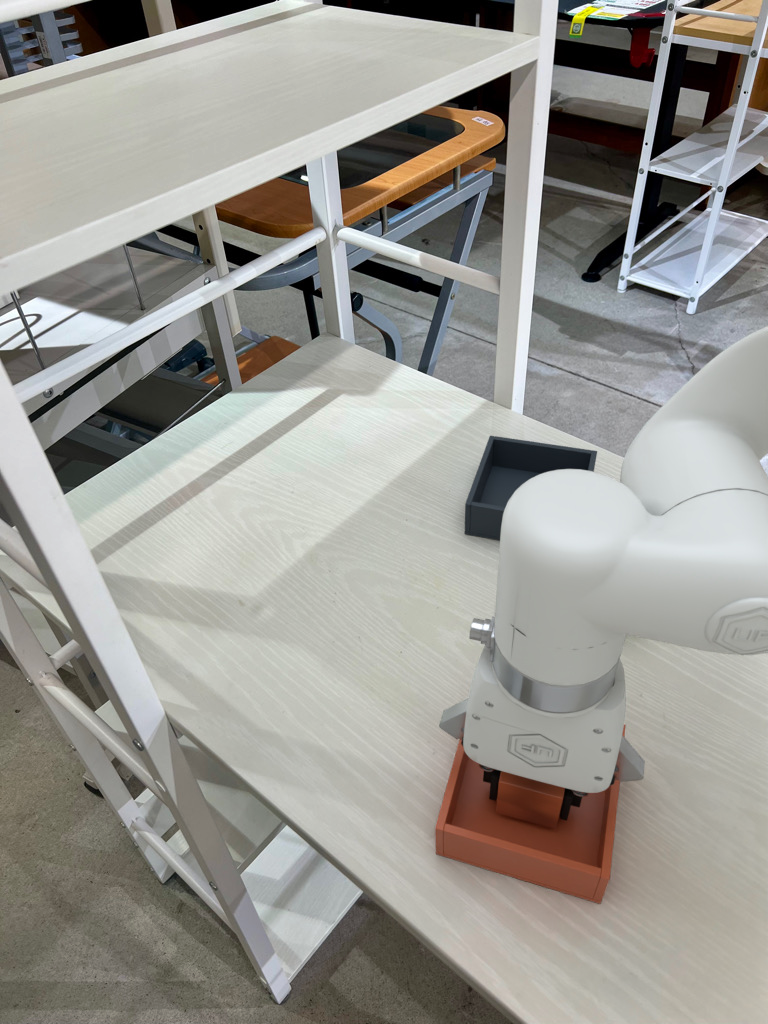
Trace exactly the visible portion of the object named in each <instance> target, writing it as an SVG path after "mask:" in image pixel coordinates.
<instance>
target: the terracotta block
mask: <svg viewBox="0 0 768 1024" xmlns="http://www.w3.org/2000/svg"><path fill="white" fill-rule="evenodd" d="M564 790H565V788H563V787H559V786H556V785H552V784H548V783H544V782H540V781H536V780H533V779H529V778H525V777H522V776H518V775H514V774H511V773H507V772H503V771H501V774H500V778H499V785H498V795H497V805H496V813H499V814H503V815H507V816H510V817H514V818H517V819H521V820H524V821H528V822H531V823H535V824H538V825H542V826H545V827H549V828H553V829H556V828H557V823H558V819H559V815H560V810H561V806H562V802H563V797H564Z"/></svg>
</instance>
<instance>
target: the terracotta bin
mask: <svg viewBox="0 0 768 1024" xmlns="http://www.w3.org/2000/svg"><path fill="white" fill-rule="evenodd" d="M626 727H627V725H626V724H624V728H623V733H622V735H623V736H624V737H625V735H626ZM625 738H626V737H625ZM461 742H462V741H461V740H460V739H458V743H457V748H456V751H455V754H454V757H453V762H452V765H451V769H450V771H449V776H448V780H447V784H446V786H445V791H444V794H443V798H442V802H441V806H440V809H439V813H438V816H437V820H436V824H435V827H434V836H435V854H436V856H437V855H438V856H441V857H444V858H448V859H451V860H454V861H457V862H461V863H464V864H467V865H470V866H474V867H477V868H480V869H484V870H487V871H490V872H493V873H497V874H500V875H504V876H507V877H509V878H514V879H516V880H519V881H522V882H523V881H524V882H527V883H530V884H534V885H537V886H540V887H544V888H547V889H550V890H553V891H557V892H560V893H563V894H567V895H570V896H572V897H576V898H579V899H583V900H586V901H589V902H592V903H597V904H598V905H599V904H602V901H603V898H604V895H605V893H606V890H607V888H608V885H609V882H610V881H611V880H610V879H611V871H612V861H613V853H614V852H613V851H614V843H615V842H614V841H615V834H616V823H617V814H618V806H619V805H618V802H619V795H620V785H621V782H619V780H615V781H614V784H613V785H610V786H609V787H608V788H607V789H606V790H604V791H602V792H598V793H589V794H588V796H586V797H582V800H581V804H580V807H575V806H572V805H571V807H570V811H569V815H568V819H567V821H566V820H562V819H560V817H559V819H558V823H557V828H556V829H553V828H549V827H545V826H542V825H538V824H535V823H531V822H528V821H524V820H521V819H517V818H514V817H510V816H507V815H503V814H499V813H496V805H497V799H496V801H494V800H491V799H489V795H490V784H491V783H487V782H484V781H483V774H484V770H482V769H481V768H480V767H479V763H477V762H475V761H473V760H472V759H471V758H469V757H468V755H467V754H466V753H465V751H464V747H463V746H462V744H461Z"/></svg>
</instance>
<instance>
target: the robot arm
mask: <svg viewBox="0 0 768 1024" xmlns="http://www.w3.org/2000/svg"><path fill="white" fill-rule="evenodd" d="M766 455H768V325H767V326H765V327H762V328H760V329H757V330H756V331H753V332H751V333H750V334H747V335H746V336H744V337H742V338H740V339H739V340H738V341H735V342H734V343H732V344H731V345H729V346H728V347H727V348H725V349H724V350H723V351H721V352H720V353H718V354H717V355H716V356H715V357H713V358H712V359H711V360H710V361H708V362H707V363H706V364H705V365H704V366H703V367H701V369H700V370H699V371H698V372H697V373H695V374H694V375H693V376H692V377H691V378H690V379H688V381H687V382H685V384H683V386H681V387H680V389H678V390H677V391H676V392H675V393H674V394H673V395H672V396H671V397H670V398H669V399H668V400H667V401H666V402H665V403H664V404H662V406H661V407H660V408H659V409H658V410H656V411H655V413H654V414H653V415H652V416H651V417H650V418H649V419H648V420H647V422H646V423H645V424H644V425H643V426H642V428H641V429H640V430H639V432H637V434H636V436H635V437H634V439H633V440H632V441H631V442H630V444H629V446H628V449H627V450H626V453H625V455H624V457H623V459H622V464H621V467H620V475H619V481H618V480H617V479H615V478H614V477H610V476H608V475H606V474H603V473H599V472H596V471H594V472H593V471H587V470H581V469H561V470H554V471H549V472H545V473H542V474H539V475H537V476H535V477H533V478H531V479H529V480H528V481H526V482H525V483H524V484H522V485H521V486H520V487H519V488H518V489H517V490H516V491H515V492H514V494H513V495H512V496H511V498H510V499H509V501H508V503H507V505H506V507H505V510H504V513H503V518H502V525H501V536H500V541H499V551H498V565H497V576H496V593H495V604H494V605H495V607H494V616H493V615H492V616H491V619H490V618H484V620H483V619H479V618H474V617H473V618H472V621H471V625H470V630H469V636H468V637H469V640H473V641H477V642H480V644H481V645H484V646H483V648H482V649H481V652H480V655H479V658H478V660H477V662H476V665H475V668H474V671H473V673H472V678H471V682H470V687H469V692H468V698H466V699H464V700H462V701H460V702H458V703H456V704H454V705H452V706H450V707H448V708H445V709H444V710H443V711H442V715H441V717H440V721H439V725H438V727H439V728H440V730H442V731H443V732H445V733H446V734H448V735H450V736H451V737H452V738H453V739H456V740H461V741H462V742H461V744H462V746H463V747H464V751H465V753H466V754H467V755H468V757H469V758H471V759H472V760H473V761H475V762H477V763H479V767H480V768H481V769H482V770H484V774H483V781H484V782H487V783H491V784H490V795H489V799H491V800H494V801H496V799H497V795H498V785H499V778H500V774H501V771H503V772H507V773H511V774H514V775H518V776H522V777H525V778H529V779H533V780H536V781H540V782H544V783H548V784H552V785H556V786H559V787H563V788H565V790H564V797H563V802H562V806H561V810H560V815H559V817H560V819H562V820H566V821H567V819H568V815H569V811H570V807H571V805H572V806H575V807H580V804H581V800H582V797H586V796H588V794H589V793H598V792H602V791H604V790H606V789H607V788H608V787H609V786H610V785H613V784H614V781H615V780H619V782H620V783H624V782H625V783H626V782H636V781H642V780H644V777H645V764H646V761H645V760H644V758H643V757H642V756H641V755H640V754H639V753H638V752H637V750H636V749H635V748H634V746H633V745H631V743H630V742H629V741H628V740H627V739H626V737H624V736H623V735H622V733H623V728H624V725H625V719H626V711H627V709H626V708H627V707H626V705H627V693H626V692H627V691H626V690H627V689H626V675H625V668H624V665H623V662H622V659H621V656H622V652H623V649H624V645H625V642H626V637H627V636H632V637H637V638H643V639H648V640H651V641H656V642H661V643H664V644H665V643H666V644H670V645H674V646H678V647H684V648H688V649H693V650H697V651H703V652H707V653H708V652H709V653H716V654H723V655H735V656H736V655H737V656H755V655H756V656H757V655H763V654H768V474H767V473H766V471H765V469H764V467H763V464H762V463H761V460H762V459H763V458H765V456H766Z"/></svg>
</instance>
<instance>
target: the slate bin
mask: <svg viewBox="0 0 768 1024" xmlns="http://www.w3.org/2000/svg"><path fill="white" fill-rule="evenodd" d="M597 456H598V450H592V449H587V448H586V449H585V448H579V447H573V446H566V445H557V444H551V443H545V442H544V443H543V442H539V441H538V442H537V441H530V440H524V439H517V438H510V437H503V436H497V435H489V437H488V439H487V442H486V446H485V448H484V450H483V454H482V456H481V459H480V461H479V464H478V467H477V471H476V473H475V475H474V479H473V481H472V483H471V487H470V489H469V493H468V495H467V498H466V501H465V503H464V535H466V536H467V535H468V536H472V537H478V538H484V539H488V540H495V541H499V542H500V536H501V525H502V518H503V513H504V510H505V507H506V505H507V503H508V501H509V499H510V498H511V496H512V495H513V494H514V492H515V491H516V490H517V489H518V488H519V487H520V486H521V485H522V484H524V483H525V482H526V481H528V480H529V479H531V478H533V477H535V476H537V475H539V474H542V473H545V472H549V471H554V470H561V469H581V470H587V471H593V472H595V467H596V461H597Z"/></svg>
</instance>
